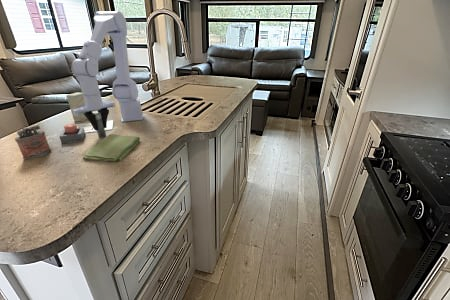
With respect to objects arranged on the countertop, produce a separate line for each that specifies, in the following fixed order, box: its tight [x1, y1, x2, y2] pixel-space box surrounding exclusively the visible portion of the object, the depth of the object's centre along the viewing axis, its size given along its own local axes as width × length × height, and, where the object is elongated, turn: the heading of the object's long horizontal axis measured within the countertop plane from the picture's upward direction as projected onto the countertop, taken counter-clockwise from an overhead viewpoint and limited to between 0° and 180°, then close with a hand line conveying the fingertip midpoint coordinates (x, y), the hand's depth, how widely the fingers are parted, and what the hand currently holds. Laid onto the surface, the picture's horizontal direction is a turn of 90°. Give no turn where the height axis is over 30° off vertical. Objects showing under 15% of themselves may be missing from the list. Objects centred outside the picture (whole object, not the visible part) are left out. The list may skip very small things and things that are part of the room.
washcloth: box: [82, 133, 141, 162], centre depth 83 cm, size 13×18×3 cm
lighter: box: [14, 124, 52, 162], centre depth 78 cm, size 8×3×10 cm, turn 148°
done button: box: [63, 123, 78, 134], centre depth 90 cm, size 4×4×2 cm
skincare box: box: [66, 91, 88, 122], centre depth 110 cm, size 6×4×12 cm
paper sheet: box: [76, 119, 114, 134], centre depth 103 cm, size 17×12×1 cm
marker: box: [92, 112, 107, 138], centre depth 92 cm, size 3×3×9 cm
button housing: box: [59, 127, 86, 145], centre depth 92 cm, size 7×7×3 cm
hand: (100, 128), depth 93 cm, fingers closed on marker, 3 cm apart
